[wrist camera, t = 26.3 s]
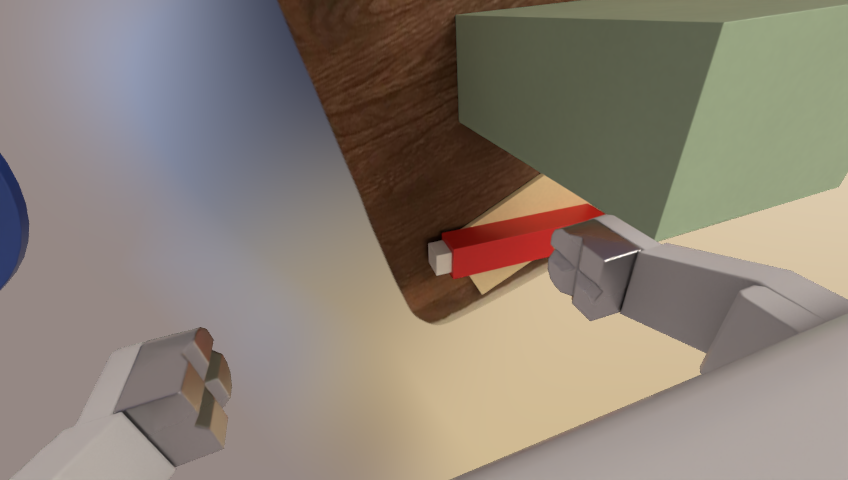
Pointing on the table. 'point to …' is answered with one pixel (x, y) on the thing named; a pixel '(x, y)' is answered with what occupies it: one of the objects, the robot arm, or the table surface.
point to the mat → (522, 202)
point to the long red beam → (502, 242)
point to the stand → (665, 102)
